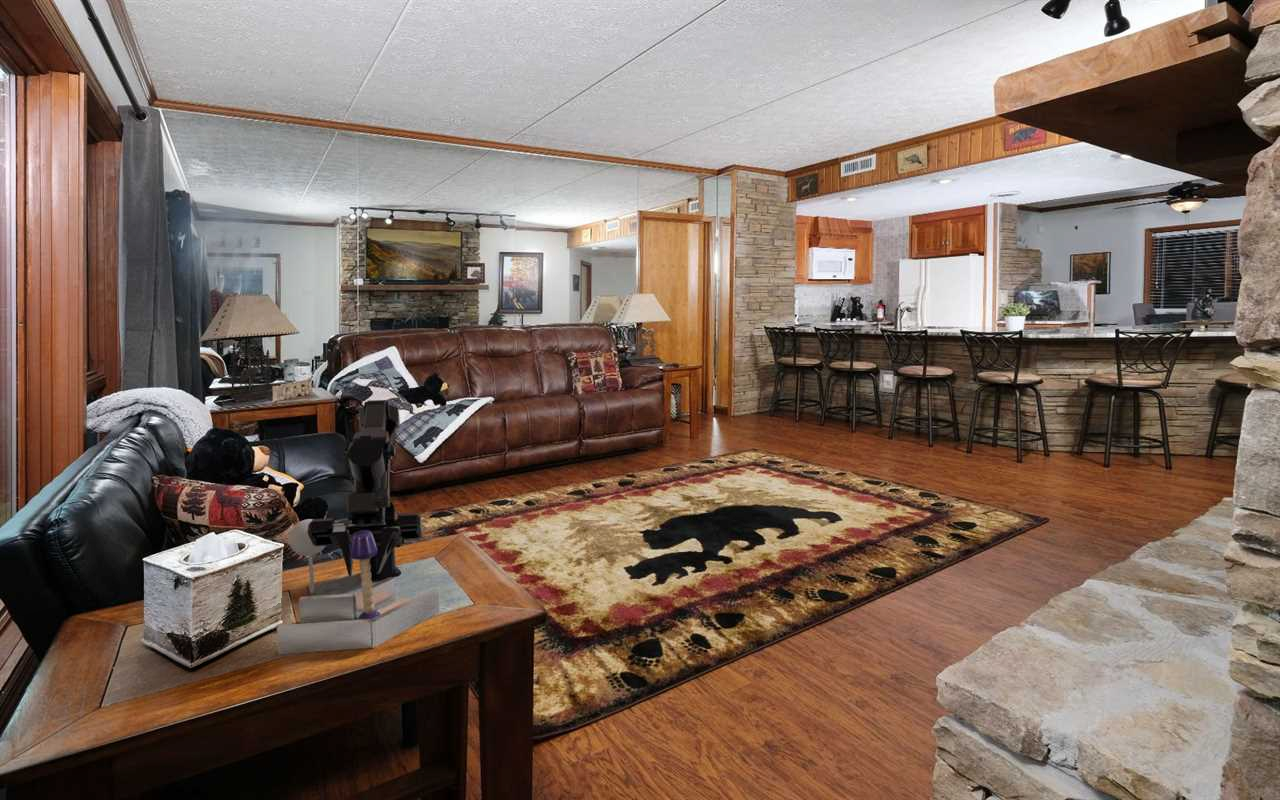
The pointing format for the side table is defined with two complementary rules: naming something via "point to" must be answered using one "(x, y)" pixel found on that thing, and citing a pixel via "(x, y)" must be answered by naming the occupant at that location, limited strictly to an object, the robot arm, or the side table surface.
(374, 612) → the toy lamp
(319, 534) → the robot arm
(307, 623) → the bent rails
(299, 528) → the lollipop
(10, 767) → the side table surface
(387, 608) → the end pad
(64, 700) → the side table surface
